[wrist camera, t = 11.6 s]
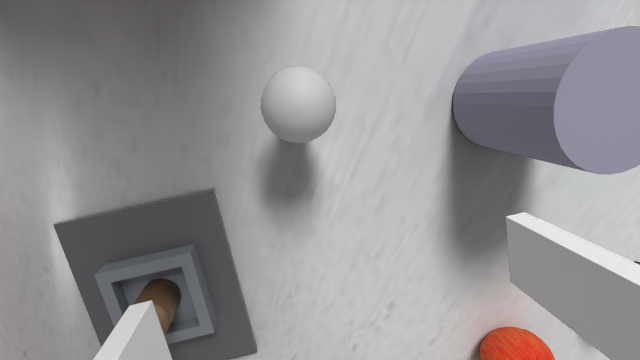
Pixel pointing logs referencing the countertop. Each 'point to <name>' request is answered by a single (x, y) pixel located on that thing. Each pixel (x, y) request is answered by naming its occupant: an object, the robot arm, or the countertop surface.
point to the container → (558, 101)
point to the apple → (514, 346)
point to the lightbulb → (298, 104)
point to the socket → (163, 272)
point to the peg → (162, 299)
